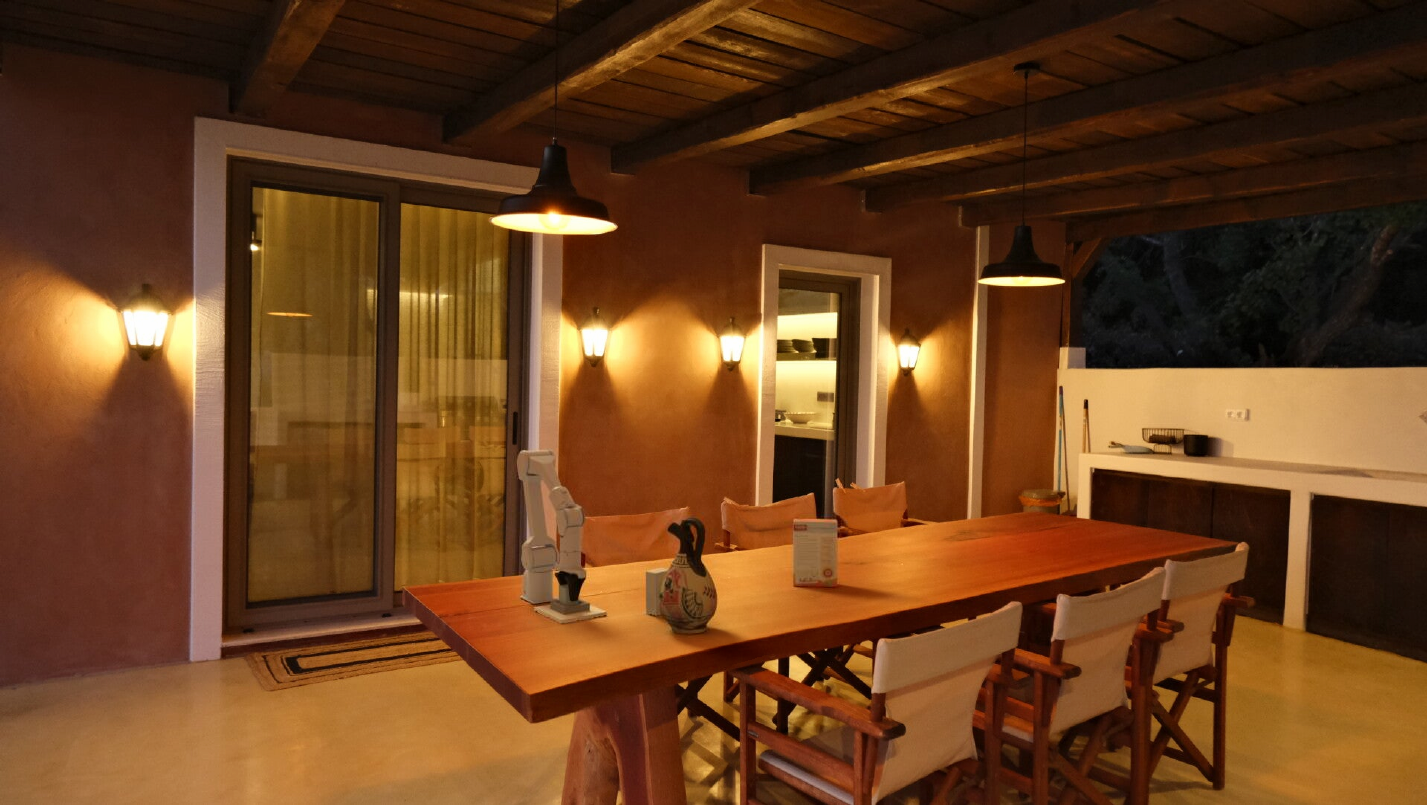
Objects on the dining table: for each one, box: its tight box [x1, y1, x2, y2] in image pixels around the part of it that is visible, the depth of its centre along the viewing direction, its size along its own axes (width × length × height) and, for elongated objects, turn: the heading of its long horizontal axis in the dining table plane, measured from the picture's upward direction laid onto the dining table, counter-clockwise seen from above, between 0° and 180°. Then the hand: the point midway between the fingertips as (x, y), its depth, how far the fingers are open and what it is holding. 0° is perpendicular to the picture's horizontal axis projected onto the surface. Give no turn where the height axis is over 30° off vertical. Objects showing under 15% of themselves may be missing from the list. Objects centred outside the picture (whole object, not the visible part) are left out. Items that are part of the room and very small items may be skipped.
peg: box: [558, 584, 580, 606], centre depth 247 cm, size 4×4×6 cm
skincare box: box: [645, 567, 669, 617], centre depth 248 cm, size 6×4×12 cm
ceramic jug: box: [659, 517, 718, 636], centre depth 231 cm, size 17×15×30 cm
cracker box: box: [792, 518, 838, 588], centre depth 283 cm, size 14×6×21 cm, turn 84°
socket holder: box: [533, 598, 608, 625], centre depth 247 cm, size 16×14×3 cm
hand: (570, 599), depth 247 cm, fingers closed on peg, 4 cm apart
